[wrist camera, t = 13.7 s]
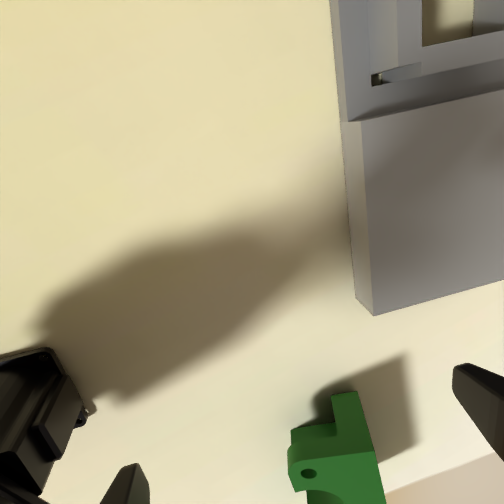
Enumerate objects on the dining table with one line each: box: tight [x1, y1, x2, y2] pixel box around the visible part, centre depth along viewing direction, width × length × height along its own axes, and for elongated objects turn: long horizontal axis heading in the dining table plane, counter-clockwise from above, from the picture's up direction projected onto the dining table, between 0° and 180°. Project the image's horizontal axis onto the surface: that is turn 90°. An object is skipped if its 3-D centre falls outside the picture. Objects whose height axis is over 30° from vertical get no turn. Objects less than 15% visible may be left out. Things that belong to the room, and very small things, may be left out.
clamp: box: [287, 391, 386, 504], centre depth 26 cm, size 12×6×9 cm, turn 11°
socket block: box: [329, 0, 504, 316], centre depth 18 cm, size 11×23×4 cm, turn 11°
